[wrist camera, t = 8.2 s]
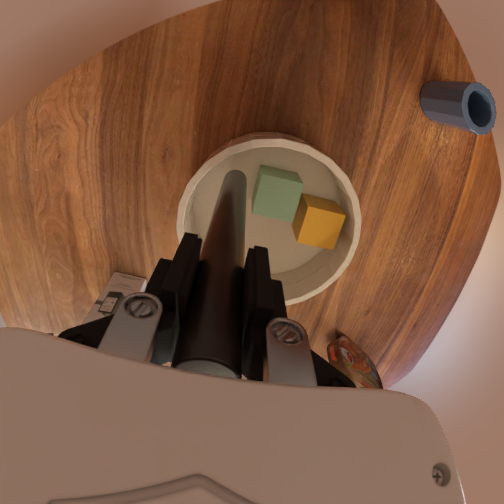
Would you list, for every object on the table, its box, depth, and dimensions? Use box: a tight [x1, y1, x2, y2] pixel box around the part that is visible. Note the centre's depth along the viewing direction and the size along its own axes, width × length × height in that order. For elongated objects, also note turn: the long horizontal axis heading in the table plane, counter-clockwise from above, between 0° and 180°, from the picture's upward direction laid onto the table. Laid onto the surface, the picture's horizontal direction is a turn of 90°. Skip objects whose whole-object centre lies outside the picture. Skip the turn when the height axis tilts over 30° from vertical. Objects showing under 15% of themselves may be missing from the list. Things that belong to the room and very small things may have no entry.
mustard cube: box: [292, 193, 346, 250], centre depth 30 cm, size 4×4×4 cm
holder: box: [420, 81, 496, 135], centre depth 21 cm, size 5×5×8 cm
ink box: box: [82, 272, 146, 324], centre depth 33 cm, size 9×5×12 cm, turn 167°
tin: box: [327, 336, 383, 389], centre depth 40 cm, size 15×3×8 cm, turn 43°
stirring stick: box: [171, 170, 247, 379], centre depth 16 cm, size 2×2×20 cm
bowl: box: [176, 132, 362, 305], centre depth 29 cm, size 17×17×6 cm
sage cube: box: [252, 165, 304, 222], centre depth 28 cm, size 4×4×4 cm
